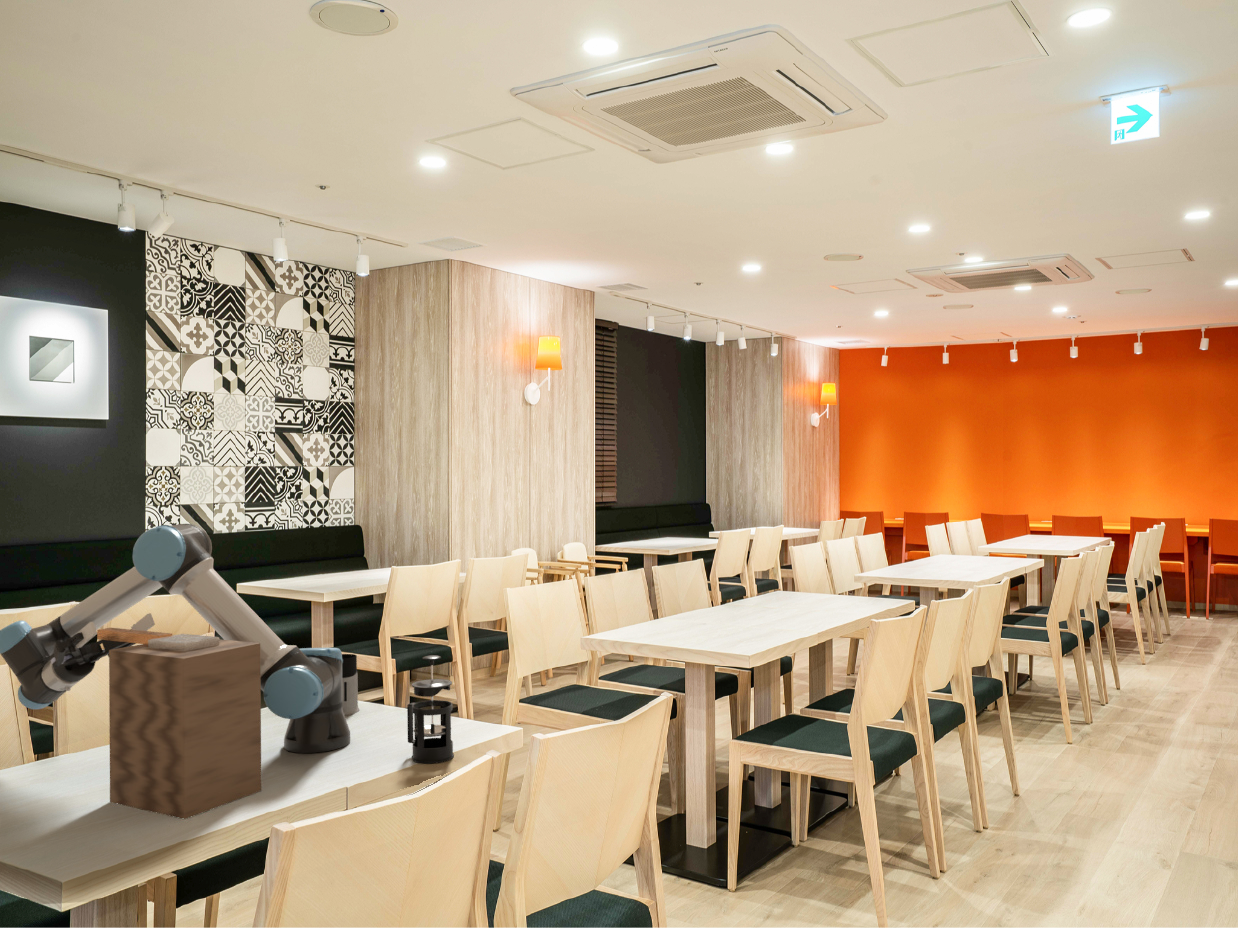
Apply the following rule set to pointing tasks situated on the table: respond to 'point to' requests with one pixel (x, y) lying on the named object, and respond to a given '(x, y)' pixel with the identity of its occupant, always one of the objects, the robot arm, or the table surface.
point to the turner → (159, 639)
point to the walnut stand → (184, 727)
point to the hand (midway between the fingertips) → (123, 623)
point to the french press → (432, 747)
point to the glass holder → (349, 684)
